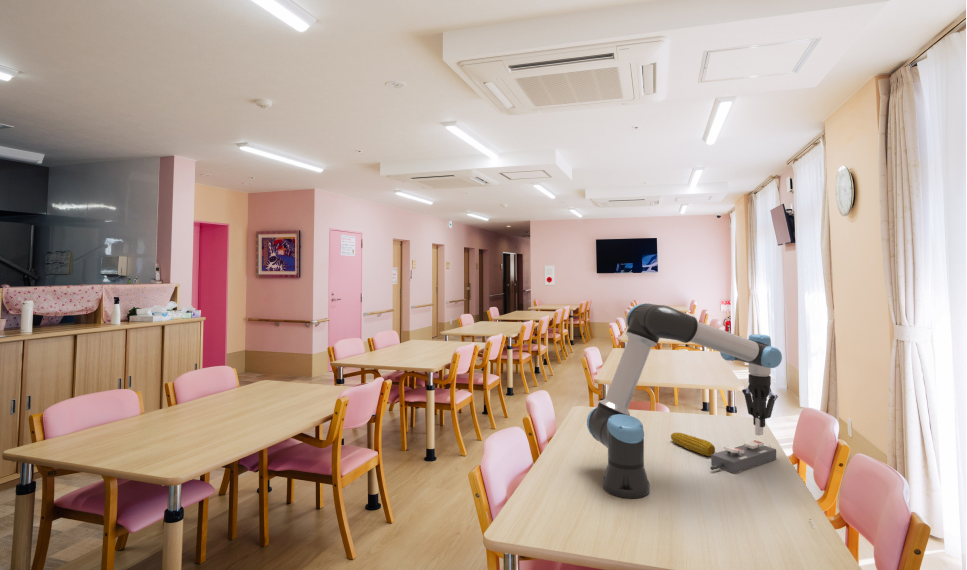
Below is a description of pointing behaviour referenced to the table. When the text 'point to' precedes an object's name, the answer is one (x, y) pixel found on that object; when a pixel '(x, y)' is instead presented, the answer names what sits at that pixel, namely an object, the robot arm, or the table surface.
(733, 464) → the power strip
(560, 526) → the table surface
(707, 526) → the table surface
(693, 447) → the food
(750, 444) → the far rocker
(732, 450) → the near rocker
